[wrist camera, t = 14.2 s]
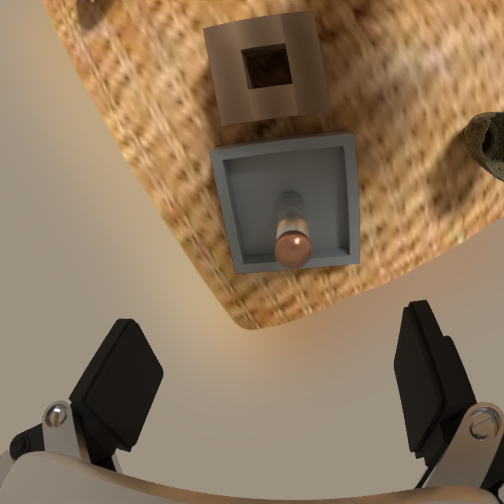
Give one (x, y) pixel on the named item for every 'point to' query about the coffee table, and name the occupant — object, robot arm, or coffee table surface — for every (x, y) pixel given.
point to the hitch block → (261, 44)
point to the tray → (289, 179)
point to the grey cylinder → (292, 232)
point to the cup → (487, 142)
